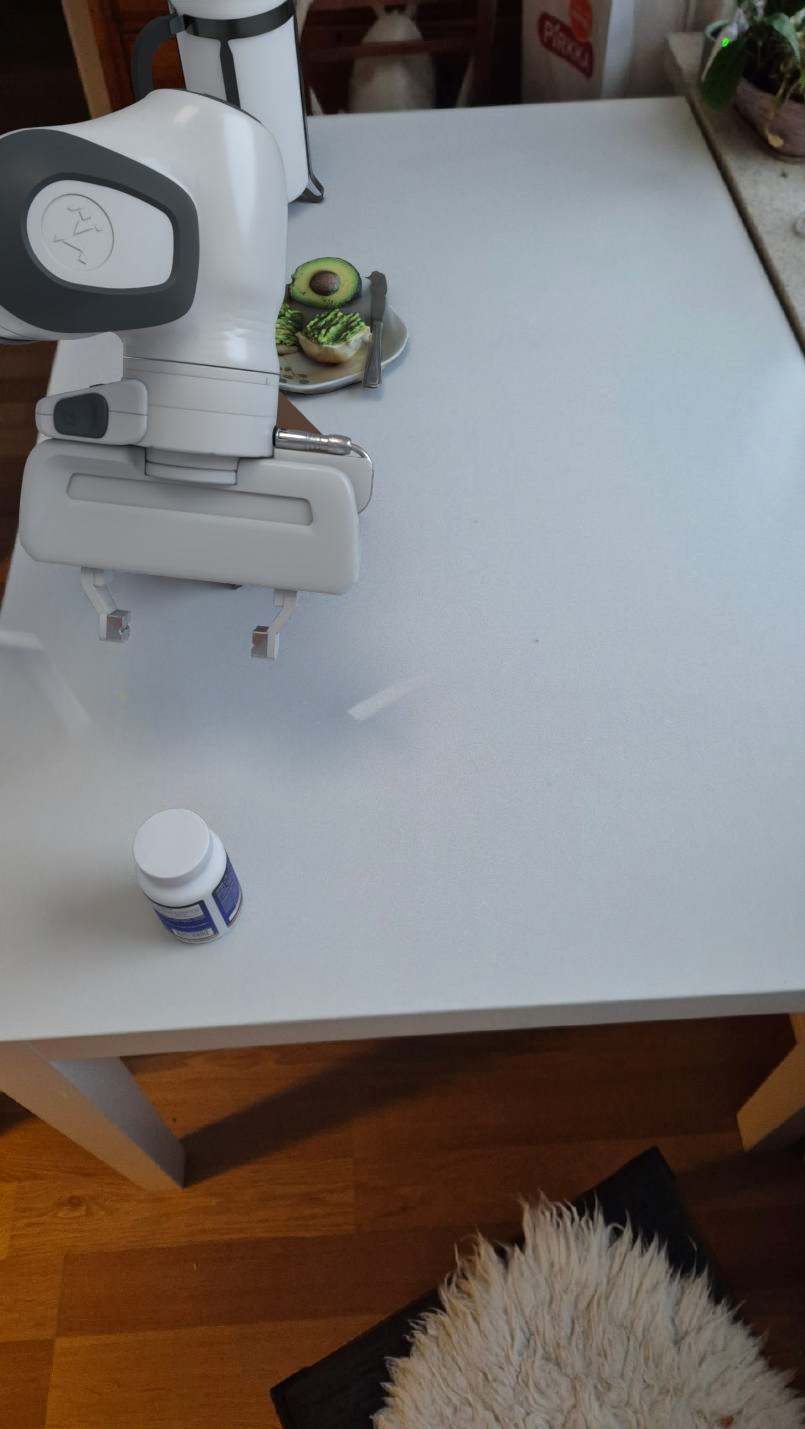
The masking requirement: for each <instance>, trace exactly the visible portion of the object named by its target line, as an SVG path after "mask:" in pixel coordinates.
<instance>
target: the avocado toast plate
mask: <svg viewBox="0 0 805 1429" xmlns="http://www.w3.org/2000/svg"><path fill="white" fill-rule="evenodd" d="M290 278H291V282H289V283H286V286H285V296H284V300H283V303H282V306H281V308H280V311H279V315H278V318H277V323H276V332H275V340H276V349H277V354H278V359H279V365H280V374H273V375H279V376H280V377H279V390H284V391H287V392H294V393H302V394H306V395H319V394H326V393H330V392H334V391H336V390H339V389H341V388H344V387H347V386H349V385H353V384H355V383H360V382H361V383H362V385H363V387H364V388H367V389H370V390H371V389H372V390H373V389H378V388H380V387H381V385H382V379H383V377H382V374H383V370H384V369H386V368H387V367H389V365H391V364H392V363H393V362H395V361H396V360H397V359H398V358H399V357H400V356H401V354H402V352H403V350H404V349H405V347H406V345H407V343H408V341H409V328H408V326H407V325H406V323H405V321H404V319H402V318H401V316H400V315H399V313H398V312H397V311H396V310H395V309H394V307H393V306H392V305H391V304H390V303H389V302H388V301H387V297H386V295H387V292H388V282H387V278H386V274H384V273H383V272H380V271H378V270H374V271H371V273H370V275H368V276H363V275H360V272H359V271H358V270H357V268H356V267H355V266H354V265H353V264H352V263H350V262H349V261H347V260H346V259H343V258H340V257H334V256H333V257H331V256H326V257H324V256H323V257H319V258H314V259H311V260H309V261H306V262H304V263H302V264H300V265H298V267H297V268H296V269H295V271H294V272H293V273H292V274H290ZM258 373H260V372H258ZM266 374H270V373H266Z"/></svg>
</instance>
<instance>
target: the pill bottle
mask: <svg viewBox="0 0 805 1429" xmlns="http://www.w3.org/2000/svg"><path fill="white" fill-rule="evenodd" d="M132 856H133V859H134V862H135V877H136V880H137V883H138V886H139V888H140V889H141V891H142V893H143V894H144V896H145V897H146V899H147V901H148V902H149V904H150V906H151V907H152V909H153V910H154V912H155V914H156V915H157V917H158V919H159V921H160V922H161V924H162V925H163V926H164V928H165V930H166V931H167V932H168V933H169V934H170V935H172V936H173V937H174V938H176V939H178V940H180V941H182V942H186V943H188V944H205V943H209V942H212V941H215V940H216V939H217V940H218V939H219V938H221V937H222V936H224V935H225V934H227V933H228V932H229V931H230V930H231V929H232V928H233V927H234V925H235V924H236V923H237V921H238V920H239V917H240V916H241V913H242V910H243V905H244V894H243V890H242V886H241V883H240V880H239V879H238V876H237V874H236V871H235V868H234V866H233V864H232V862H231V859H230V856H229V854H228V852H227V850H226V847H225V846H224V843H223V841H222V839H221V838H220V837H219V835H218V834H217V833H216V832H215V831H214V830H213V829H212V828H210V827H208V825H207V823H206V822H205V820H203V818H202V817H200V815H198V814H197V813H196V812H194V811H192V810H189V809H186V808H175V807H174V808H167V809H163V810H161V811H158V812H156V813H154V814H152V815H151V816H149V817H148V818H147V819H145V821H144V822H142V824H141V825H140V826H139V828H138V829H137V831H136V832H135V834H134V838H133V842H132Z"/></svg>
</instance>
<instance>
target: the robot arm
mask: <svg viewBox="0 0 805 1429" xmlns="http://www.w3.org/2000/svg"><path fill="white" fill-rule="evenodd" d="M288 245H289V203H288V199H287V184H286V175H285V169H284V164H283V159H282V156H281V152H280V149H279V146H278V144H277V142H276V140H275V138H274V137H273V135H272V134H271V133H270V132H269V130H267V129H266V128H265V127H264V126H263V125H262V124H261V122H260V121H259V120H258V119H256V118H255V117H254V116H252V115H251V114H249V113H248V112H246V111H245V110H243V109H241V108H239V107H238V106H236V105H234V104H232V103H229V102H227V101H225V100H222V99H220V98H217V97H215V96H212V95H209V94H206V93H204V94H202V93H197V92H193V91H189V90H187V89H185V88H180V87H178V88H177V87H171V88H170V87H169V88H168V87H165V88H159V89H158V88H157V89H154V91H152V92H150V93H149V94H148V95H147V96H146V97H145V98H143V99H142V100H140V101H138V102H137V103H136V102H135V103H133V104H131V105H129V106H126V107H124V108H122V109H119V110H116V111H114V112H111V113H108V114H105V115H103V116H99V117H96V118H93V119H89V120H85V121H81V122H76V123H69V124H62V125H60V124H59V125H51V126H39V127H37V126H36V127H35V126H34V127H27V128H26V127H25V128H19V129H16V130H12V131H8V132H6V133H3V134H1V135H0V345H6V346H22V345H29V344H33V343H37V342H41V341H42V342H43V341H44V342H54V341H76V340H83V339H88V338H92V337H96V336H99V335H102V334H104V333H109V332H110V333H112V334H114V335H116V336H117V337H118V338H119V339H120V341H121V343H122V349H123V350H122V356H123V358H122V377H120V380H117V381H113V382H108V383H97V384H93V385H90V386H89V387H86V388H81V389H76V390H71V391H65V392H62V393H56V394H51V395H48V396H44V397H42V398H40V399H39V400H38V401H37V403H36V405H35V411H34V412H35V413H34V414H35V415H34V417H35V426H36V428H37V431H38V432H39V433H40V434H41V435H42V436H45V437H47V438H45V439H44V440H42V441H40V442H39V443H37V444H36V445H35V446H34V447H33V448H32V450H30V452H29V454H28V455H27V459H26V461H25V465H24V469H23V475H22V482H21V490H20V498H19V500H20V501H19V514H18V536H19V537H18V539H19V543H20V545H21V547H22V548H23V550H24V551H25V553H26V554H27V556H28V557H29V558H30V559H31V561H33V562H37V563H45V564H54V565H63V566H72V567H80V586H81V588H82V590H83V592H84V594H85V595H86V597H87V599H88V601H89V602H90V604H91V606H92V608H93V610H94V611H95V613H96V614H98V634H97V635H98V636H97V638H98V640H99V641H100V642H106V643H117V644H119V643H120V644H124V643H126V642H127V641H128V640H129V639H130V635H131V627H130V626H129V624H130V623H131V613H132V612H131V611H130V610H123V609H119V608H118V606H117V604H116V601H115V600H114V598H113V596H112V594H111V592H110V589H109V588H108V586H107V585H108V584H109V583H111V582H112V581H114V580H115V571H117V572H126V573H132V574H133V573H134V574H142V575H143V574H144V575H151V576H161V577H169V578H179V579H186V580H187V579H188V580H194V581H203V582H214V583H220V584H221V583H222V584H223V583H224V584H231V585H232V584H239V585H243V586H249V587H256V588H257V587H259V588H266V589H273V601H272V602H273V603H272V605H273V606H274V607H277V608H281V607H282V608H281V609H280V611H279V612H278V614H277V615H276V617H275V618H274V620H273V621H272V623H271V624H270V625H269V626H267V625H256V626H255V628H254V629H253V630H252V633H251V634H252V636H251V643H252V645H253V646H252V648H251V651H250V656H251V658H252V659H258V660H266V661H267V660H268V661H276V659H277V658H278V656H279V651H280V638H281V631H282V629H283V628H284V626H285V625H286V624H287V622H288V621H289V619H290V618H291V616H292V615H293V613H294V612H295V611H296V609H297V608H298V606H299V605H300V604H301V596H302V593H311V594H312V593H313V594H321V595H322V594H323V595H328V596H329V595H330V596H337V597H338V596H341V597H342V596H344V595H346V594H347V593H348V592H349V591H350V590H351V589H353V588H354V587H355V585H356V584H358V582H359V578H360V574H361V573H360V572H361V563H362V562H361V561H362V560H361V558H362V530H361V528H362V526H361V514H362V513H363V512H365V510H366V509H367V507H368V506H369V504H370V503H371V501H372V497H373V487H374V478H375V466H374V463H373V461H372V458H371V457H370V455H369V453H368V452H367V451H366V450H365V449H364V448H362V447H361V446H359V445H358V444H355V443H352V438H351V437H349V436H346V435H343V434H342V435H341V434H336V433H335V434H334V433H329V434H323V435H321V434H317V435H316V434H314V433H313V434H312V433H310V432H306V431H300V430H292V429H284V428H277V426H276V420H277V406H278V392H279V391H280V389H279V377H280V376H279V375H273V374H280V365H279V359H278V354H277V349H276V340H275V332H276V323H277V318H278V315H279V311H280V308H281V306H282V303H283V300H284V296H285V286H286V284H287V269H288V268H287V267H288ZM258 372H260V373H258ZM266 373H270V374H266ZM275 445H276V448H275V447H274V446H275ZM274 449H275V450H274ZM310 450H311V451H315V450H316V451H321V452H327V453H328V454H327V453H319V452H310ZM351 451H352V452H354V453H356V454H357V455H358V456H353V455H350V454H351ZM273 455H274V457H271V456H273Z"/></svg>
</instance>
